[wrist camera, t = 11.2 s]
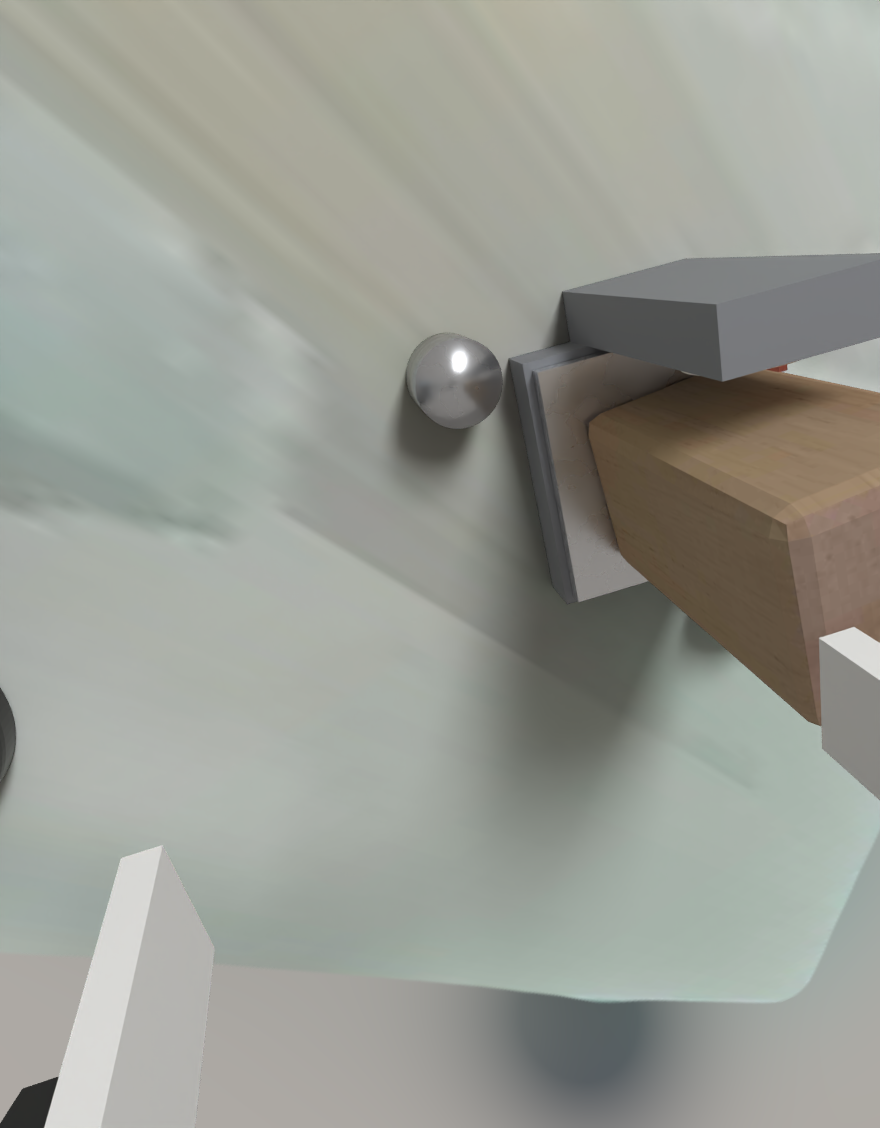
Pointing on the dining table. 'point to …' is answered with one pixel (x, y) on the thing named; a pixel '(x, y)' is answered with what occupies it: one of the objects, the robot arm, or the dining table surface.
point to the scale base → (700, 335)
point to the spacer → (454, 380)
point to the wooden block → (753, 513)
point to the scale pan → (590, 459)
